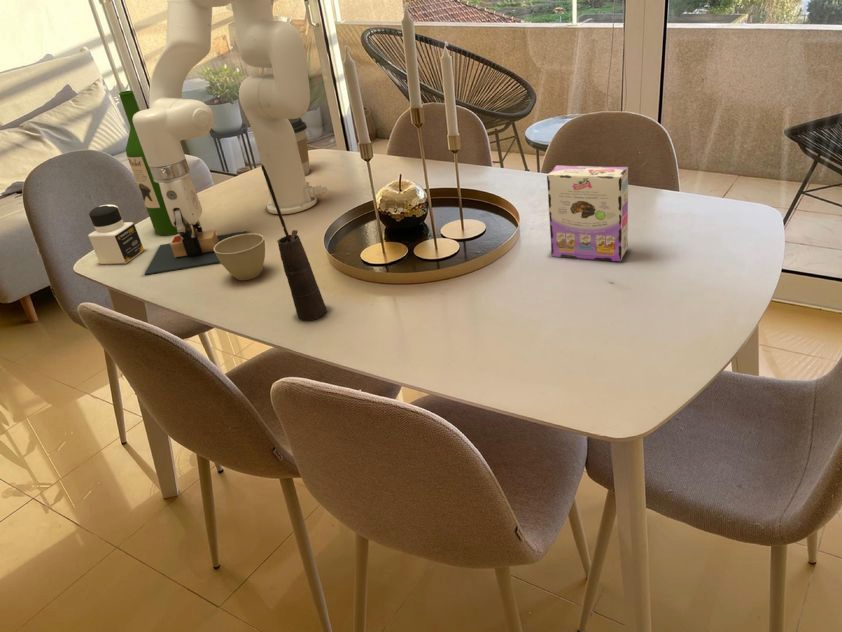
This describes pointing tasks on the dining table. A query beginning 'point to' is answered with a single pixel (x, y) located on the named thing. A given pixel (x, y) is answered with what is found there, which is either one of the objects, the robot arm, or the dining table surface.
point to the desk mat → (169, 262)
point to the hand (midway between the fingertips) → (197, 248)
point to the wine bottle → (145, 173)
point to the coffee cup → (301, 142)
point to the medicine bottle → (113, 236)
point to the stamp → (205, 240)
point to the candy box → (588, 212)
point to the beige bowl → (242, 255)
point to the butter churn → (298, 271)
